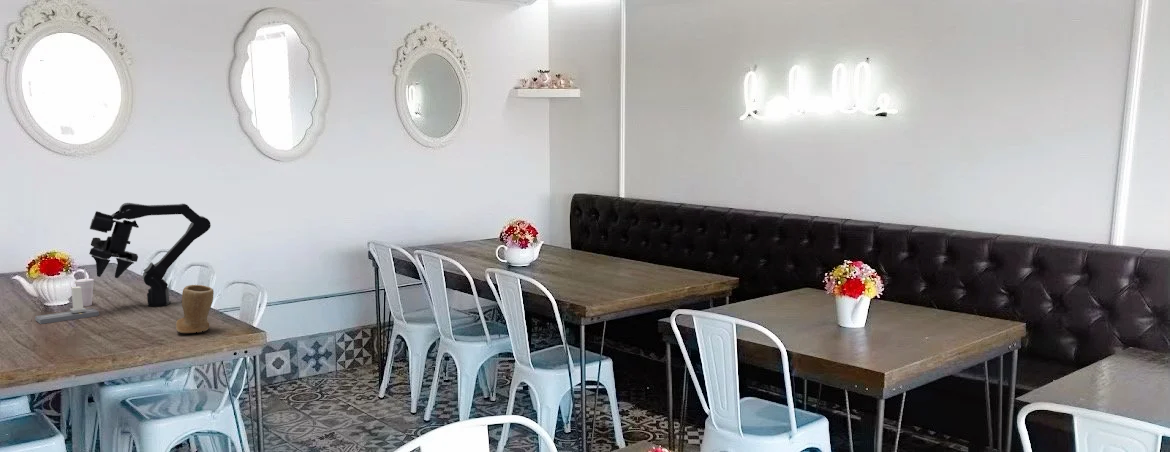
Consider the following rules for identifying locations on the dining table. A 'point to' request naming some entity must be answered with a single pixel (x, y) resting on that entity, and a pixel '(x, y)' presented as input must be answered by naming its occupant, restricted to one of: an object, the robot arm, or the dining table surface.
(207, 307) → the tan boot
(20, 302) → the dining table surface
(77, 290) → the fader
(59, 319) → the fader board
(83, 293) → the smoothie
